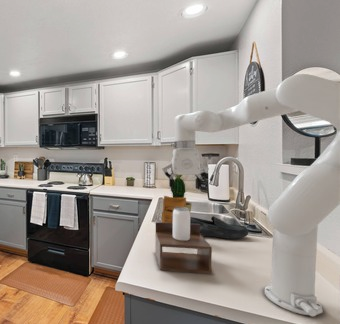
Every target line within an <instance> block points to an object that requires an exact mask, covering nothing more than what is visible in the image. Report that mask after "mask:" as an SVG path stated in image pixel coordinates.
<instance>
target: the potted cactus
mask: <svg viewBox="0 0 340 324" xmlns="http://www.w3.org/2000/svg"><path fill="white" fill-rule="evenodd" d="M173 179H174V189H171V188H170V192H171V194H172V198H186V195H185V194H186V193H187V188H186V181H185V180H184V179H183V178H181V177H176V178H175V177H174V178H173ZM192 205H193V204H192V202H191V201H187V200H186V208H188V209H189V212H190V213H191V210H192Z"/></svg>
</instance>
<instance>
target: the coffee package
mask: <svg viewBox="0 0 340 324" xmlns="http://www.w3.org/2000/svg"><path fill="white" fill-rule="evenodd" d="M162 201H163V204H162V212H161V213H162V214H161V222H164V223H173V211H174V208H175V207H185V208H186V201H187V197H184V198H173V196H168V195H163V200H162Z"/></svg>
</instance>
